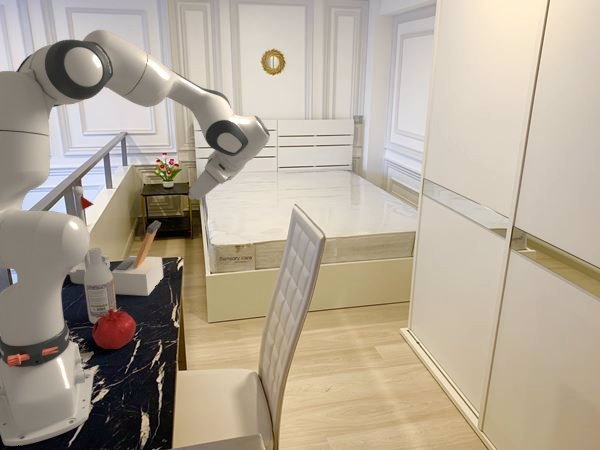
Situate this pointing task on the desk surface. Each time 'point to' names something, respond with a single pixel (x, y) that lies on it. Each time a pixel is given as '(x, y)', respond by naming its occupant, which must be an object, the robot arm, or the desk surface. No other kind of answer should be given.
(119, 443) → the desk surface
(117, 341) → the pomegranate
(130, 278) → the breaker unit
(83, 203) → the flag stand
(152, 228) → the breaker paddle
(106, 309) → the bath foam
